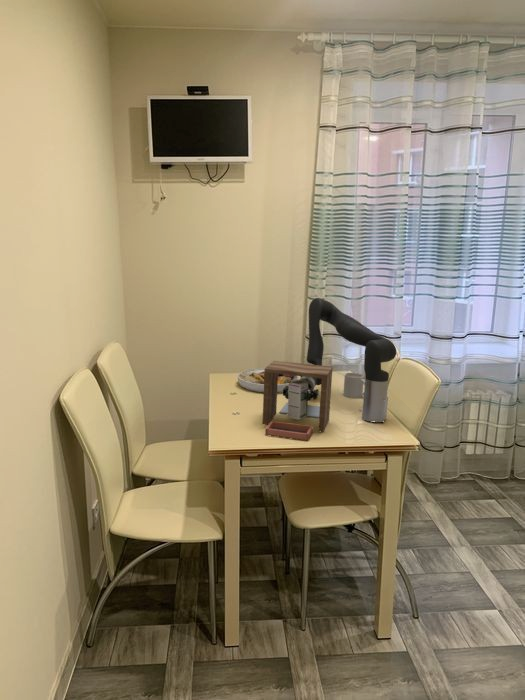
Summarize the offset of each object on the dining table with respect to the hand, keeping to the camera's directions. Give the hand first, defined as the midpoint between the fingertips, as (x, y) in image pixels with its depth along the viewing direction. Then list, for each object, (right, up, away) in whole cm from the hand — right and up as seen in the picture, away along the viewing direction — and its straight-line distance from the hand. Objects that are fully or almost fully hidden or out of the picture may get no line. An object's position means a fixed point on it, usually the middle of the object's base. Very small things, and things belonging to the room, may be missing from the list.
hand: (297, 397), depth 203 cm
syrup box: (0, -8, +4) cm, 9 cm away
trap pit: (-4, -13, -9) cm, 16 cm away
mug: (+30, -3, +42) cm, 51 cm away
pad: (+4, -7, +17) cm, 19 cm away
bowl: (-11, +1, +54) cm, 55 cm away
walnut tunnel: (0, -10, +3) cm, 11 cm away
